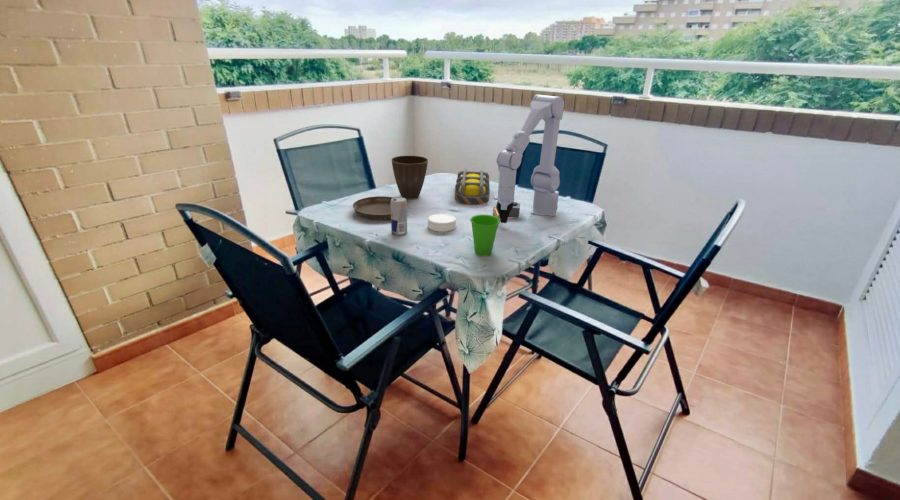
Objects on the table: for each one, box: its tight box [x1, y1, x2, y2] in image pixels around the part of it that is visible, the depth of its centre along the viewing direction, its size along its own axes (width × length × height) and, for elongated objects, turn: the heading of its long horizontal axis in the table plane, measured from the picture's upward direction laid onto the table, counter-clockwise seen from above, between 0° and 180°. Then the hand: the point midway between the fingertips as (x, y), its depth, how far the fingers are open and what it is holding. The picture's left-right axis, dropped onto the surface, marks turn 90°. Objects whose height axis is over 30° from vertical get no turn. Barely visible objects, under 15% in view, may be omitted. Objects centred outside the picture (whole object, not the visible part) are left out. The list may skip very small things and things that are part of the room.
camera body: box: [492, 200, 521, 219], centre depth 166 cm, size 10×7×5 cm
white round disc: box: [427, 213, 457, 233], centre depth 154 cm, size 10×10×4 cm
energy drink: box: [390, 196, 408, 236], centre depth 146 cm, size 5×5×12 cm
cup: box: [469, 214, 501, 257], centre depth 133 cm, size 9×9×11 cm
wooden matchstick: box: [492, 205, 500, 219], centre depth 160 cm, size 10×1×3 cm, turn 3°
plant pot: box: [391, 155, 429, 200], centre depth 181 cm, size 15×15×16 cm
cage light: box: [454, 169, 491, 206], centre depth 188 cm, size 15×8×30 cm
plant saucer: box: [352, 195, 394, 221], centre depth 166 cm, size 21×21×3 cm
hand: (503, 222), depth 155 cm, fingers closed
